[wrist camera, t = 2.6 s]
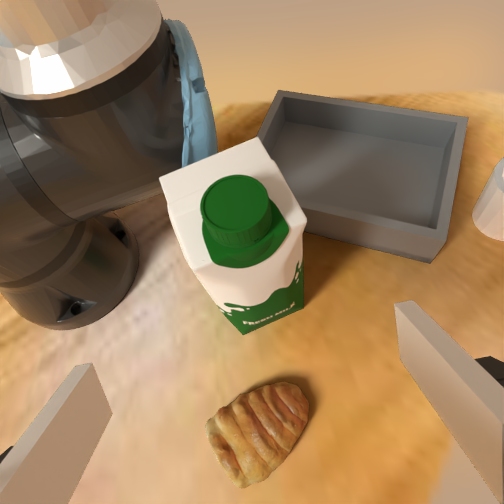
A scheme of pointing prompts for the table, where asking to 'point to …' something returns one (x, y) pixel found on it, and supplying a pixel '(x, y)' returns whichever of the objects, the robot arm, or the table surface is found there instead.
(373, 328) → the table surface
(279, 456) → the pastry
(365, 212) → the bin
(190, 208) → the soya milk
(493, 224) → the white round container
